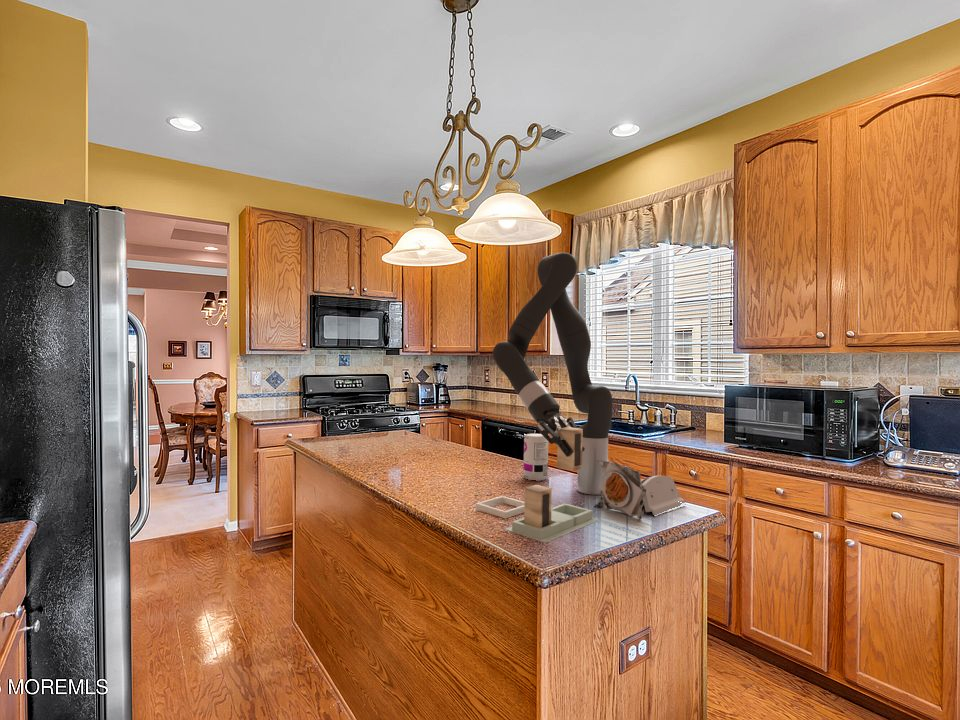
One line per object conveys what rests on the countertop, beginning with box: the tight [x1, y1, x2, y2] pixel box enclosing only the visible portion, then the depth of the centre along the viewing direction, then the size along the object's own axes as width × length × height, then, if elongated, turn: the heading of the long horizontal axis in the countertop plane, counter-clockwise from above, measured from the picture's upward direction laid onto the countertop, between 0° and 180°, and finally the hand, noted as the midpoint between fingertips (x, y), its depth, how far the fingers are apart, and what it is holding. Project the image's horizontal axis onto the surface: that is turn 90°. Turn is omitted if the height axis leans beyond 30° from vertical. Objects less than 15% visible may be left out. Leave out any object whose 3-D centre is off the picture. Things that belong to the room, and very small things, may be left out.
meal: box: [593, 460, 646, 521], centre depth 136 cm, size 15×4×13 cm, turn 35°
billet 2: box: [556, 427, 583, 472], centre depth 128 cm, size 4×5×10 cm
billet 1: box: [523, 484, 553, 528], centre depth 118 cm, size 4×5×10 cm
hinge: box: [640, 475, 686, 516], centre depth 141 cm, size 17×5×10 cm, turn 130°
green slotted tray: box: [504, 503, 601, 544], centre depth 123 cm, size 23×12×3 cm, turn 136°
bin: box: [475, 495, 525, 519], centre depth 134 cm, size 11×11×2 cm
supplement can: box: [522, 432, 549, 482], centre depth 173 cm, size 8×8×15 cm
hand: (576, 453), depth 126 cm, fingers closed on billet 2, 4 cm apart
